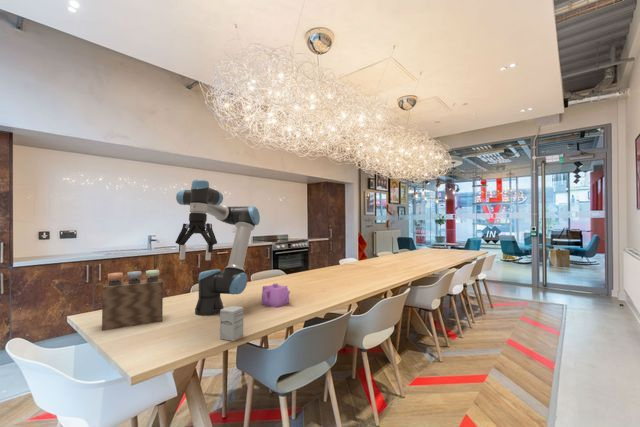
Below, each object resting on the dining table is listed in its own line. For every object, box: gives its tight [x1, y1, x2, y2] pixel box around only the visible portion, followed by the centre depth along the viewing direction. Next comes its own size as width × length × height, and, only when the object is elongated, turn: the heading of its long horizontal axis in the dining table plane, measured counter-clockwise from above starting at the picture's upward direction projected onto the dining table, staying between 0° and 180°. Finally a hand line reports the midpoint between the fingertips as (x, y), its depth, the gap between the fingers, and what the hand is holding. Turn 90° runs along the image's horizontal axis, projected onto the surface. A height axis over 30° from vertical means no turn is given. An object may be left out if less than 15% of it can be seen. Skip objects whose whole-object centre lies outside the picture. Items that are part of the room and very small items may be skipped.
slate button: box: [126, 270, 142, 280], centre depth 150 cm, size 6×6×4 cm
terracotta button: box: [107, 272, 124, 282], centre depth 145 cm, size 6×6×4 cm
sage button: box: [145, 269, 160, 279], centre depth 154 cm, size 6×6×4 cm
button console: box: [101, 276, 164, 331], centre depth 149 cm, size 25×10×22 cm, turn 121°
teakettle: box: [261, 283, 291, 308], centre depth 183 cm, size 17×17×12 cm
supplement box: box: [219, 305, 245, 342], centre depth 129 cm, size 7×7×13 cm
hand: (194, 259), depth 133 cm, fingers open, 13 cm apart
